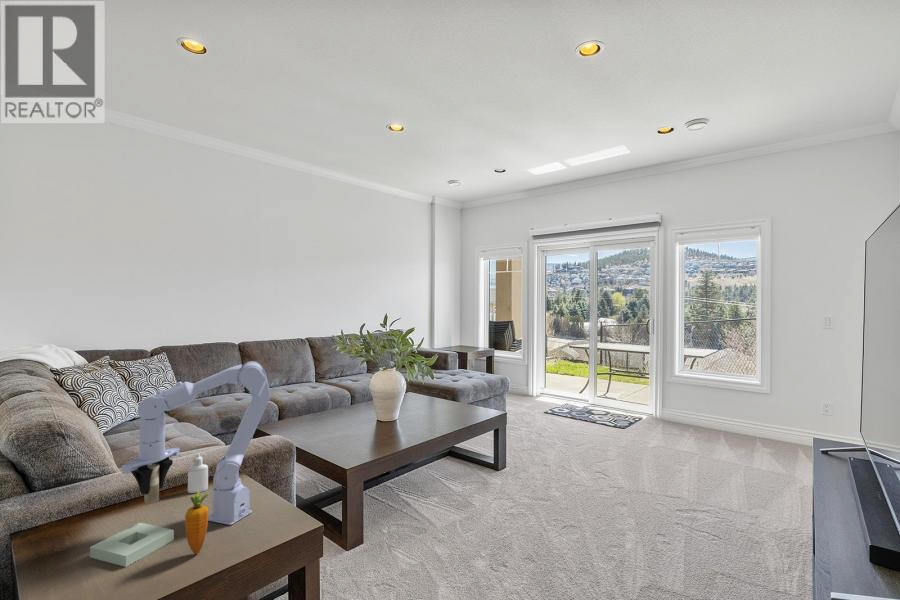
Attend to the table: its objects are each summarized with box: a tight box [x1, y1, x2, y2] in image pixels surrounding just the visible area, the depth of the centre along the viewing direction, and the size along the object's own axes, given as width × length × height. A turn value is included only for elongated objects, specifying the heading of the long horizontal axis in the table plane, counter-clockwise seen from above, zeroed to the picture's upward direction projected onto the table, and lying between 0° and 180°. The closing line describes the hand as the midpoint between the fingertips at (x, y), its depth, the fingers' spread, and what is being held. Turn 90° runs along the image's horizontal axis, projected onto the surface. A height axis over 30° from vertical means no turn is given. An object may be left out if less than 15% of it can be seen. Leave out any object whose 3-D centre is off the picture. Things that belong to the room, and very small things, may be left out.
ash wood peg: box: [143, 464, 160, 505], centre depth 115 cm, size 3×3×10 cm
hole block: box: [89, 522, 175, 568], centre depth 106 cm, size 12×12×2 cm
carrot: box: [184, 491, 209, 555], centre depth 104 cm, size 5×5×15 cm
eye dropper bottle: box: [187, 453, 209, 494], centre depth 139 cm, size 4×6×12 cm
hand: (151, 490), depth 115 cm, fingers closed on ash wood peg, 3 cm apart
